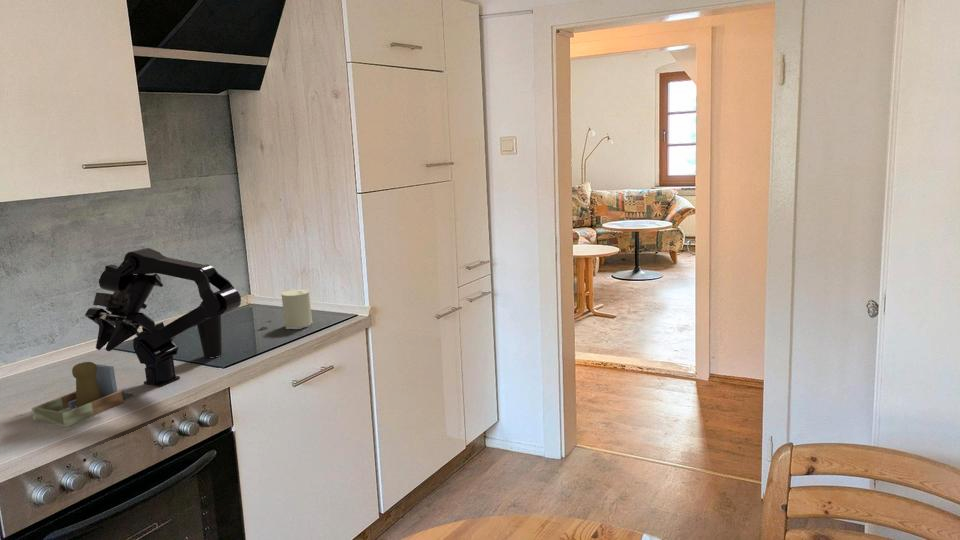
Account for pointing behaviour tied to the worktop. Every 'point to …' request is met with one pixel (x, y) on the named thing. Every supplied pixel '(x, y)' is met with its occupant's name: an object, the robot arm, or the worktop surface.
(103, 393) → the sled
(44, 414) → the track
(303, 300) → the can
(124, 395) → the pit mat
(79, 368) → the cork
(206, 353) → the drinking cup
